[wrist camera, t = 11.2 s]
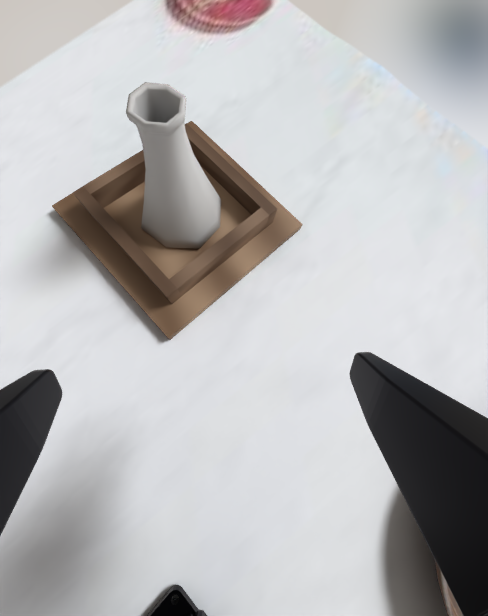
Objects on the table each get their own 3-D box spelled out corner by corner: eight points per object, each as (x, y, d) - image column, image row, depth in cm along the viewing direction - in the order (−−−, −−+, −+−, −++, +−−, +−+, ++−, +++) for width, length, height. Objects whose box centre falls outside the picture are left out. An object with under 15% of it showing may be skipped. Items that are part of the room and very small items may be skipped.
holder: (170, 339, 21) (162, 334, 19) (57, 211, 24) (35, 189, 21) (300, 229, 25) (309, 211, 23) (192, 127, 27) (189, 100, 25)
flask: (205, 262, 23) (194, 175, 13) (128, 235, 23) (59, 129, 13) (233, 197, 25) (240, 80, 15) (161, 172, 25) (123, 41, 15)
